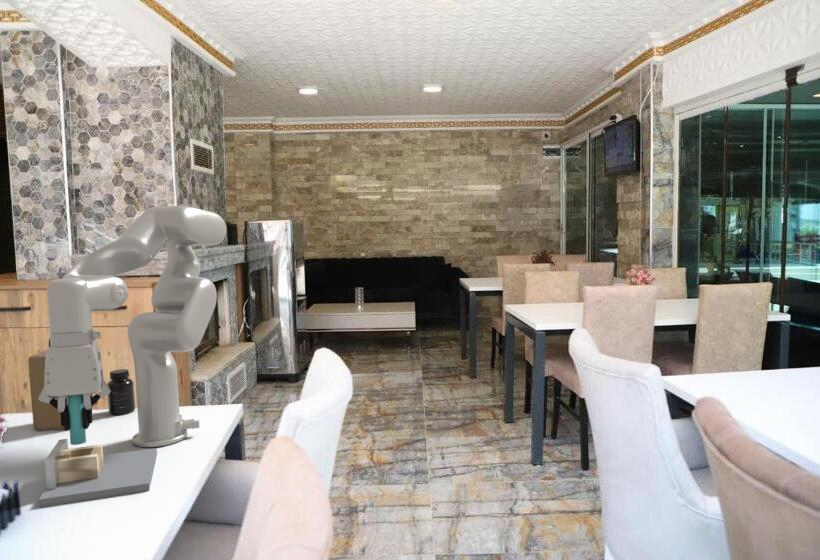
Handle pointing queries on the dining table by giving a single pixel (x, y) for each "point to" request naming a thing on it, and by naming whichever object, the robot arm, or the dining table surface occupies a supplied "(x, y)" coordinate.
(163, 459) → the dining table surface
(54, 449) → the backstop wall
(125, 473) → the base board
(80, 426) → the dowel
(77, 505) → the dining table surface
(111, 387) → the supplement bottle
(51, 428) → the wooden block
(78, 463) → the birch block
